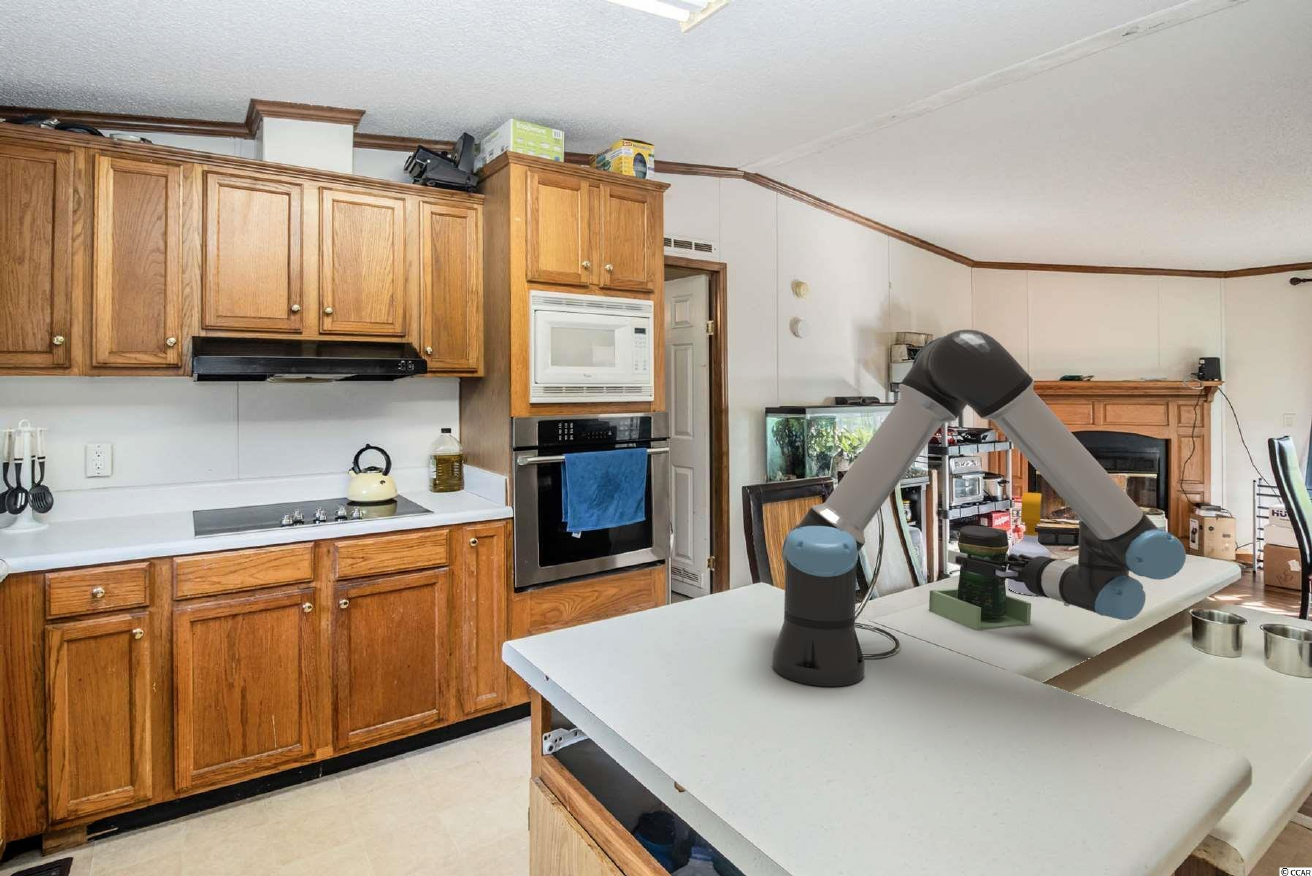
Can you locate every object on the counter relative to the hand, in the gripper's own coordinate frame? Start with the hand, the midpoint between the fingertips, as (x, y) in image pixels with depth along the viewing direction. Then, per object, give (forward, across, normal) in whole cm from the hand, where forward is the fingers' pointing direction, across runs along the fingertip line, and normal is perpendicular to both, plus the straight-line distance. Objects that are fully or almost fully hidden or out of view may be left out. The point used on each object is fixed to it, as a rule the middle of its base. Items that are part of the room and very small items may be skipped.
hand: (966, 554), depth 152 cm
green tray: (-5, 0, -13) cm, 13 cm away
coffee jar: (-5, 0, -12) cm, 13 cm away
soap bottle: (+10, +29, -13) cm, 33 cm away
